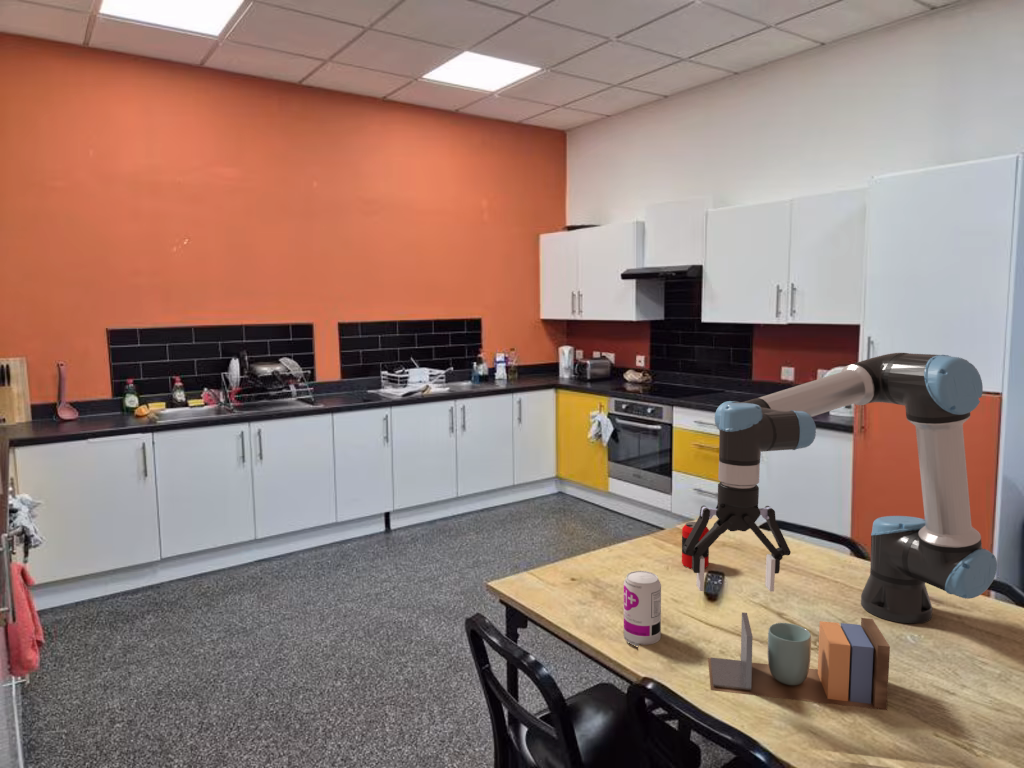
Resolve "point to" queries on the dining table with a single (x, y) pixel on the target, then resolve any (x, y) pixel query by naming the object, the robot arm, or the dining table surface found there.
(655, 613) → the supplement can
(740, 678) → the bookend
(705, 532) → the soda can
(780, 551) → the robot arm
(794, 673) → the cup
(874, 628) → the shelf
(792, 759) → the dining table surface
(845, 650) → the book terracotta
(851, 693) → the book navy
